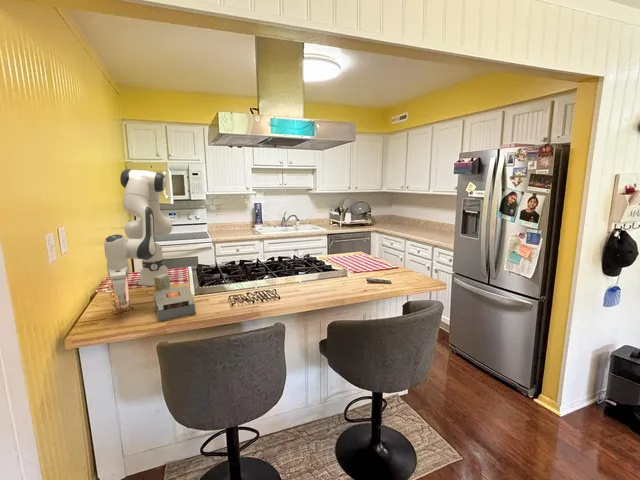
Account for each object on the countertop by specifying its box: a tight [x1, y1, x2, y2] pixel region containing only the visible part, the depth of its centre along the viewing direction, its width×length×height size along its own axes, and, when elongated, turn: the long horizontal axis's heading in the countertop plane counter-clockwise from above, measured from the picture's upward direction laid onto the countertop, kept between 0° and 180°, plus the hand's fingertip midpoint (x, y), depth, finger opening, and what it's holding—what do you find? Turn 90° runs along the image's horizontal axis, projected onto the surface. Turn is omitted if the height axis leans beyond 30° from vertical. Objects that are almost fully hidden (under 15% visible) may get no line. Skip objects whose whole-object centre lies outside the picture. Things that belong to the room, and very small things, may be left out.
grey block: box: [117, 292, 128, 306], centre depth 161 cm, size 3×3×6 cm
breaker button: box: [168, 292, 179, 297], centre depth 165 cm, size 5×5×4 cm
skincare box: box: [154, 273, 171, 291], centre depth 183 cm, size 6×4×12 cm
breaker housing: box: [153, 285, 197, 323], centre depth 166 cm, size 20×16×8 cm
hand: (122, 297), depth 161 cm, fingers closed on grey block, 3 cm apart
